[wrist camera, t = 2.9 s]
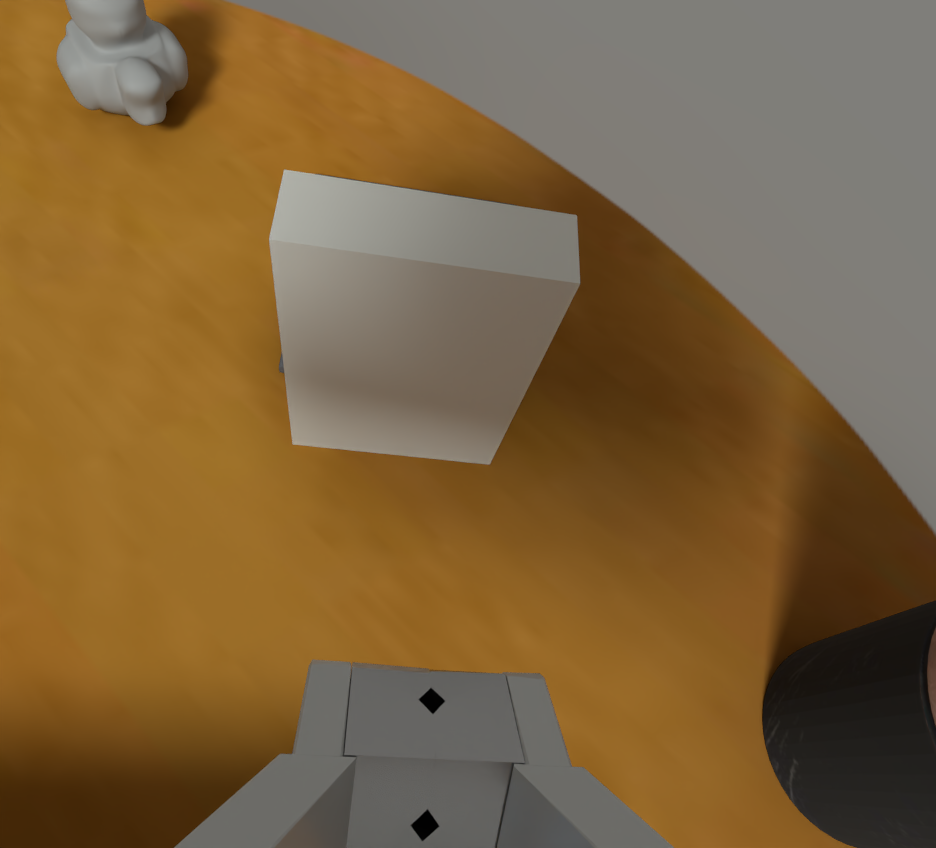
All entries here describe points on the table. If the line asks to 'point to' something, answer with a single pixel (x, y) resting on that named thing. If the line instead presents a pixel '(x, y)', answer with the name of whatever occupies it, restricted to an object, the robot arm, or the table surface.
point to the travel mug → (861, 731)
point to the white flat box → (413, 313)
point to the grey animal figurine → (121, 59)
